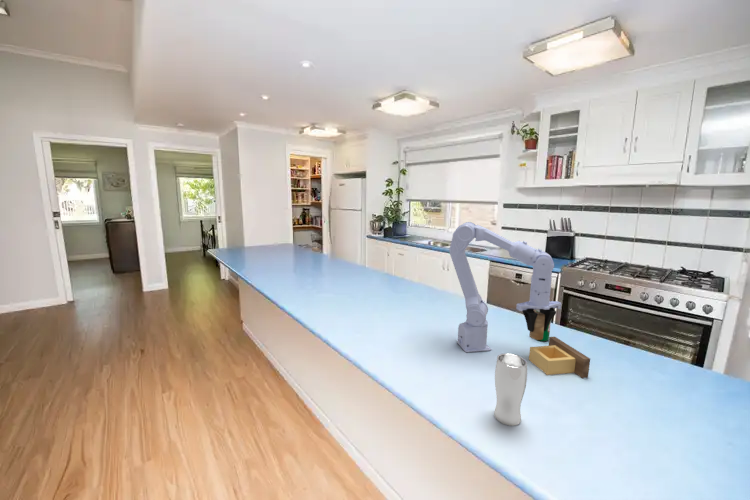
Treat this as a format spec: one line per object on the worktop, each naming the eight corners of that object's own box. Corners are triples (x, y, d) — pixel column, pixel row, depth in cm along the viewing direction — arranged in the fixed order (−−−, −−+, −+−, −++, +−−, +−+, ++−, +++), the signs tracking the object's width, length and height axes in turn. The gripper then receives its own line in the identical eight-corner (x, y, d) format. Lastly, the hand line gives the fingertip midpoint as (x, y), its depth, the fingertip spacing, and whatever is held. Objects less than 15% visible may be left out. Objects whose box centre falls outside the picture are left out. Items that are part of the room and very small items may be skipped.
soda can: (550, 342, 118) (553, 311, 116) (535, 341, 119) (538, 310, 117) (546, 336, 123) (549, 306, 121) (532, 335, 124) (534, 305, 122)
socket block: (547, 374, 97) (548, 361, 96) (528, 359, 106) (530, 347, 105) (574, 372, 98) (575, 358, 97) (553, 357, 107) (555, 345, 106)
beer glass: (487, 408, 82) (491, 353, 79) (513, 407, 82) (518, 352, 80) (500, 428, 75) (504, 368, 72) (528, 426, 75) (534, 367, 73)
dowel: (534, 340, 104) (536, 316, 103) (526, 334, 108) (528, 312, 107) (545, 339, 105) (547, 315, 103) (537, 334, 108) (539, 311, 107)
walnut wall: (581, 378, 95) (584, 359, 94) (547, 353, 110) (549, 336, 109) (587, 377, 95) (590, 358, 94) (553, 353, 110) (554, 336, 109)
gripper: (527, 295, 98) (523, 336, 101) (569, 292, 101) (565, 333, 103) (513, 288, 105) (511, 327, 108) (554, 286, 108) (550, 325, 110)
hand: (536, 330), depth 106 cm, fingers closed on dowel, 4 cm apart
